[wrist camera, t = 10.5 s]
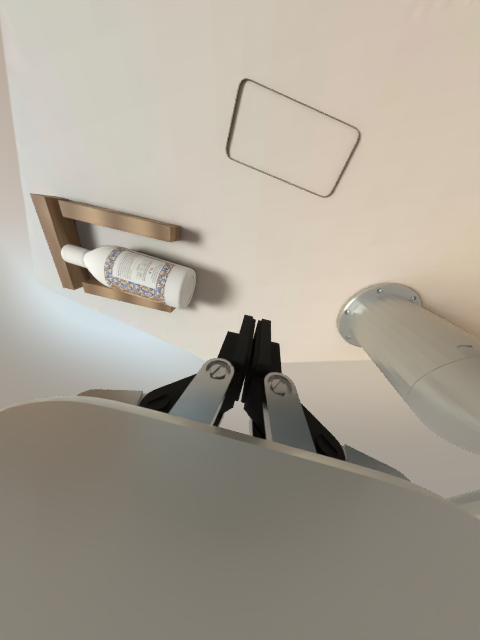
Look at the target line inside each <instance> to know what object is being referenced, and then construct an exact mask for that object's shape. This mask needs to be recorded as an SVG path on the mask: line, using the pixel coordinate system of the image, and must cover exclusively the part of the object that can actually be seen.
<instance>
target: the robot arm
mask: <svg viewBox="0 0 480 640" xmlns="http://www.w3.org/2000/svg"><path fill="white" fill-rule="evenodd" d="M255 322H256V320H255V319H253V317H252V316H248V315H245V316H244V319H243V323H242V326H241V330H240V333H239V334H238V333H233V332H229V331H228V333H227V335H226V338H225V340H224V343H223V345H222V348H221V350H220V353H219V355H218V358H214V359H210V360H208V361H207V362H206V363H205V364H204V365H203V366H202V368H201V369H200V371H199V372H198V373H197V374H195V375H192V376H189V377H187V378H184V379H182V380H179V381H176V382H174V383H171V384H169V385H166V386H163V387H161V388H158V389H155V390H153V391H152V392H149V393H148V394H143V391H128V390H102V389H94V390H88V391H85V392H82V393H80V394H78V395H77V396H55V397H45V398H38V399H33V400H28V401H23V402H19V403H16V404H13V405H10V406H7V407H4V408H2V409H0V640H480V490H476V491H473V492H469V493H465V494H461V495H458V496H454V497H450V498H446V499H445V498H443V497H441V496H439V495H437V494H435V493H433V492H432V491H430V490H427V489H426V488H423V487H421V486H419V485H416V484H414V483H412V482H410V480H409V479H407V478H406V477H405V476H404V475H403V474H402V473H401V472H399V471H397V470H396V469H394V468H392V467H390V466H388V465H386V464H384V463H382V462H380V461H378V460H376V459H374V458H372V457H370V456H368V455H366V454H364V453H362V452H359V451H358V450H356V449H354V448H351V447H350V446H347V445H344V446H341V445H340V443H339V442H338V441H337V440H336V438H335V437H334V436H333V435H332V434H331V433H330V432H329V431H328V430H327V429H326V428H325V427H324V426H323V425H322V424H321V423H320V422H319V421H318V420H317V419H316V418H315V417H314V416H313V415H312V414H311V413H310V412H309V411H308V410H307V409H306V408H305V407H304V406H303V405H302V404H301V403H300V400H299V397H298V394H297V390H296V387H295V385H294V383H293V382H292V380H291V379H290V378H288V377H287V376H286V375H284V374H282V373H281V359H280V346H279V343H275V342H271V321H269V320H265V319H262V321H260V320H258V323H257V327H256V330H255V334H254V328H255ZM337 328H338V331H339V333H340V334H341V336H342V337H343V339H344V340H345V341H347V342H348V343H350V344H352V345H354V346H358V347H362V348H363V349H364V351H365V352H366V353H367V354H368V356H369V357H370V358H371V359H372V361H373V362H374V363H375V364H376V366H377V367H378V368H379V369H380V371H381V372H382V373H383V374H384V376H385V377H386V378H387V379H388V381H389V382H390V383H391V384H392V386H393V387H394V388H395V389H396V391H397V392H398V393H399V394H400V396H401V397H402V398H403V399H404V401H405V402H406V403H407V404H408V405H409V407H410V408H411V409H412V410H413V412H414V413H415V414H416V415H417V417H418V418H419V419H420V420H421V421H422V422H423V423H424V424H425V425H426V426H427V427H428V428H429V429H430V430H431V431H433V432H434V433H435V434H437V435H438V436H440V437H441V438H443V439H445V440H447V441H448V442H450V443H452V444H454V445H456V446H458V447H460V448H462V449H465V450H467V451H469V452H472V453H475V454H477V455H480V338H478V337H476V336H475V335H473V334H471V333H469V332H467V331H465V330H463V329H461V328H460V327H458V326H456V325H454V324H452V323H450V322H448V321H446V320H445V319H443V318H441V317H439V316H437V315H435V314H433V313H431V312H429V311H428V310H426V309H424V308H422V303H421V300H420V297H419V296H418V294H417V293H416V292H415V291H413V290H412V289H410V288H409V287H406V286H404V285H401V284H397V283H382V284H377V285H373V286H370V287H368V288H365V289H363V290H361V291H360V292H358V293H356V294H355V295H354V296H352V297H351V298H350V299H349V300H348V301H347V302H346V303H345V304H344V306H343V307H342V309H341V310H340V313H339V315H338V319H337ZM253 335H254V338H253ZM244 379H245V381H244ZM243 382H244V388H243V393H242V399H241V402H242V403H245V404H244V410H245V411H246V412H247V414H248V415H249V416H250V421H249V425H250V426H249V427H250V435H246V434H243V433H239V432H235V431H231V430H228V429H224V428H220V427H219V426H220V424H221V422H222V419H223V417H224V413H225V412H226V411H228V410H229V409H231V408H233V405H234V402H235V401H238V400H239V396H240V392H241V389H242V386H243Z"/></svg>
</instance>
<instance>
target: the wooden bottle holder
mask: <svg viewBox="0 0 480 640" xmlns="http://www.w3.org/2000/svg"><path fill="white" fill-rule="evenodd" d="M30 195H31V198H32V201H33V203H34V206H35V209H36V212H37V215H38V218H39V220H40V223H41V226H42V229H43V232H44V235H45V237H46V240H47V243H48V246H49V249H50V251H51V254H52V257H53V260H54V263H55V266H56V268H57V271H58V274H59V277H60V280H61V283H62V285H63V287H64V288H68V289H72V290H75V289H78V288H81V287H83V288H84V291H85V293H89V294H94V295H98V296H102V297H106V298H111V299H115V300H119V301H123V302H128V303H132V304H136V305H140V306H144V307H149V308H153V309H157V310H161V311H166V312H170V313H171V312H172V311H173V310H174V309H175V307H172V306H168V305H165V304H161V303H158V302H155V301H151V300H148V299H145V298H141V297H138V296H135V295H131V294H128V293H125V292H121V291H118V290H115V289H112V288H110V287H108V286H106V285H104V284H102V283H101V282H99V281H98V280H97V279H96V278H92V279H89V275H88V271H87V268H85V267H81V266H78V265H75V264H72V263H68V262H66V261H65V260H64V259H63V258H62V256H61V250H62V248H63V247H64V246H65V245H69V244H70V245H75V246H78V247H81V245H80V241H79V237H78V233H77V229H76V226H75V222H74V219H75V220H79V221H84V222H88V223H92V224H96V225H100V226H105V227H109V228H113V229H117V230H121V231H125V232H130V233H134V234H138V235H142V236H146V237H151V238H155V239H159V240H163V241H167V242H173V241H178V240H180V226H177V225H173V224H169V223H164V222H160V221H156V220H152V219H148V218H143V217H139V216H135V215H131V214H127V213H123V212H118V211H114V210H110V209H106V208H102V207H98V206H93V205H89V204H85V203H81V202H71V201H69V200H68V199H64V198H60V197H56V196H48V195H39V194H31V193H30Z"/></svg>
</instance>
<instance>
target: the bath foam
mask: <svg viewBox="0 0 480 640" xmlns="http://www.w3.org/2000/svg"><path fill="white" fill-rule="evenodd" d="M61 256H62V258H63V259H64V260H65V261H66V262H68V263H72V264H75V265H78V266H81V267H85V268H87V269H88V270H89V271H90V272H91V274H92V275H93V276H94V277H95V278H96V279H97V280H98V281H99V282H101V283H102V284H104V285H106V286H108V287H110V288H112V289H115V290H118V291H121V292H125V293H128V294H131V295H135V296H138V297H141V298H145V299H148V300H151V301H155V302H158V303H161V304H165V305H168V306H172V307H175V308H178V309H184V308H186V307H187V306H188V304H189V303H190V301H191V299H192V296H193V293H194V290H195V285H196V274H195V271H194V270H193V269H191V268H188V267H185V266H182V265H178V264H175V263H172V262H169V261H166V260H162V259H159V258H156V257H153V256H149V255H146V254H143V253H140V252H137V251H133V250H130V249H127V248H123V247H119V246H103V247H100V248H97V249H94V250H92V251H91V250H88V249H84V248H81V247H78V246H75V245H70V244H69V245H65V246H64V247H63V248H62V250H61Z"/></svg>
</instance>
